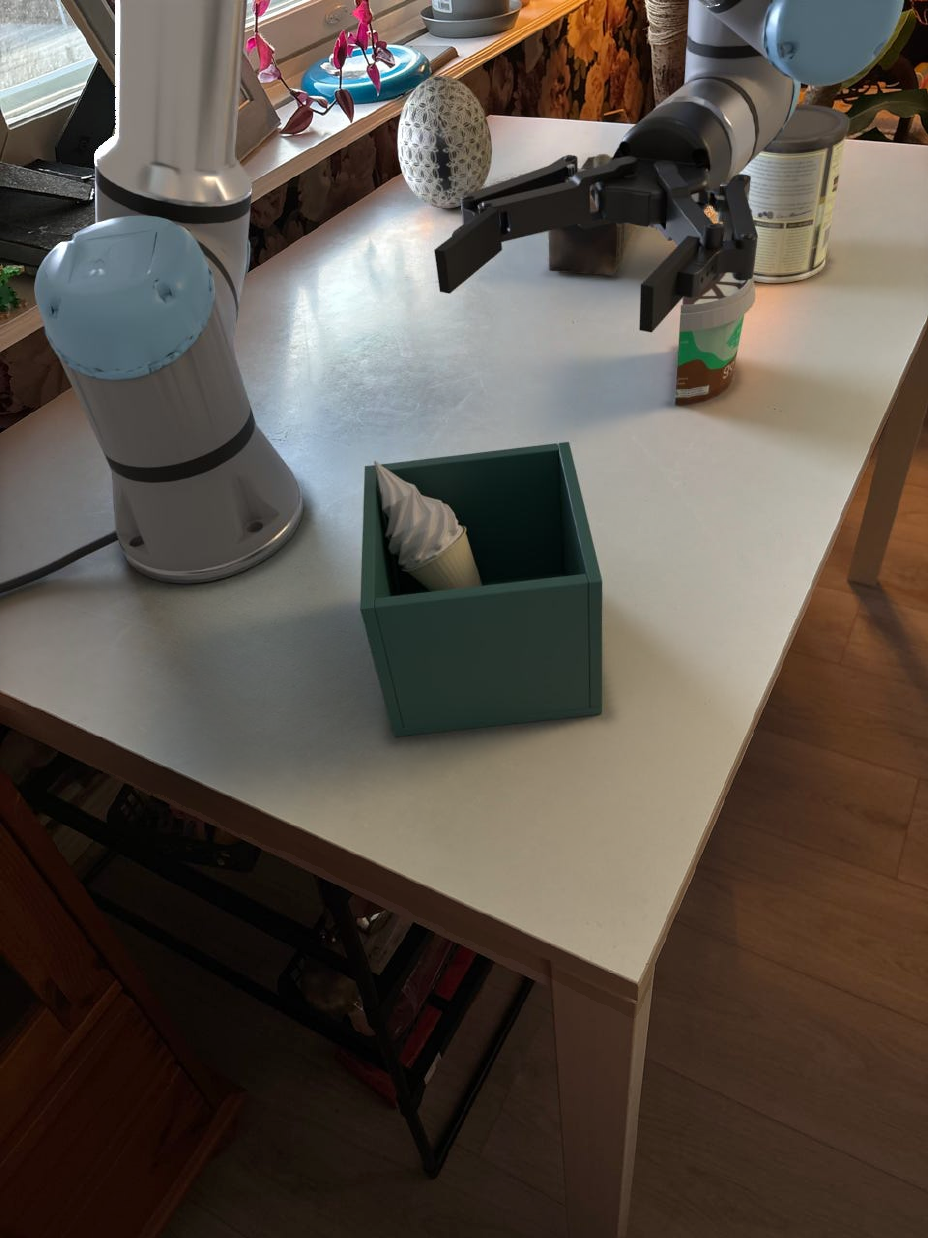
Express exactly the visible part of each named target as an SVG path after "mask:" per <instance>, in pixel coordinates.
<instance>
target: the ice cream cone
mask: <svg viewBox="0 0 928 1238" xmlns="http://www.w3.org/2000/svg"><path fill="white" fill-rule="evenodd" d="M373 465H375V467H376V472H377V477H378V482H379V487H380V492H381V500H382V510H383V511H384V512H385V514H386V515H387V516H388V518H389V523H388V527H387V531H386V534H385V536H386V537H387V538H388V539H389V540H390V543H389V546H388V549H389V551H390V552H391V554H395V555H398V556H399V560H398V563H399V565H402V570H403V571H406V572H408V573H409V574H411V575H412V576H413V577H414V578H415V579H416V580H418V581H419V582H420V583H421V584H422V585H424V586H425V587H426V588H427V589H428V590H430V591H431V592H434V591H442V590H451V589H460V588H468V587H477V586H482V583H481V580H480V576H479V573H478V570H477V567H476V564H475V561H474V558H473V555H472V552H471V548H470V545H469V542H468V539H467V536H466V533H465V532H466V527H465V526H460V525H458V520H457V519H456V518H455V514H454V512H453V511H452V510H451V508H450V507H449V506H448V505H447V504H444V503H442V501H440V500H437V499H433V498H429V497H425V496H423V495H421V494H420V493H419V491H418V490H417V488H416V487H415V485H413V484H410V483H407V482H405V481H403V480H402V479H400V478H399V477H397V476H396V475H394V474H393V473H391V472H390V471H389V470H387V469H386V468H384V467H383V466H381V464H380V463H378V462H377V460H374V461H373Z"/></svg>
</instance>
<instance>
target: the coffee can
mask: <svg viewBox="0 0 928 1238" xmlns="http://www.w3.org/2000/svg"><path fill="white" fill-rule="evenodd" d="M850 125H851V120H850V117H849V116H848V115H847V114H845V113H844V112H843V111H841V110H838V109H835V108H832V107H829V106H824V105H817V104H816V105H815V104H806V103H805V104H801V103H800V104H798V103H797V106H796V108H795V110H794V112H793V114H792V116H791V117H790V119H789V121H788V122H787V123H786V125H785V126H784V129H783V130H782V131H781V133H780V134H779V136H778V138H777V139H776V140H775V141H774V142H773V143H772V144H771V145H770V146H768V147H767V148H766V149H764V150H763V151H761V152H760V153H759V154H758V155H757V156H756V157H755V158H754V159H753V160H752V161H751V162H750V163H749V164H748V165H747V166H746V167H745V168H744V170H742V171H741V172H740V173H739V174H745V175H749V176H751V183H750V193H749V202H748V203H749V206H750V210H751V213H752V217H753V220H754V224H755V227H756V231H757V234H758V239H757V248H756V257H755V265H754V273H753V278H754V282H758V283H764V284H785V283H793V282H798V281H803V280H806V279H808V278H811V277H813V276H815V275H817V274H819V273H820V272H821V271H822V270H823V269H824V267H825V264H826V255H827V250H828V249H827V248H828V244H829V238H830V232H831V227H832V222H833V221H832V220H833V213H834V210H835V209H834V208H835V204H836V203H835V202H836V197H837V191H838V185H839V178H840V174H841V167H842V164H843V163H842V162H843V156H844V149H845V143H846V138H847V133H848V132H849V130H850Z"/></svg>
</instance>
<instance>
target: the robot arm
mask: <svg viewBox="0 0 928 1238" xmlns="http://www.w3.org/2000/svg"><path fill="white" fill-rule="evenodd" d="M904 4H905V0H688V14H687V15H688V18H687V36H686V48H685V49H686V51H685V69H684V83H683V85H682V86H680V87H679V88H678V89H677V90H676V91H674V92H673V93H671V95H669V96H668V97H667V98H666V99H664V100H662V102H660V103H659V104H657V105H656V107H655V108H654V109H653V110H651V111H650V112H649V113H648V114H646V116H644V117H643V118H642V119H641V120H640V121H638V122H637V123H635V125H633V126H632V127H631V128H630V129H629V130H628V131H627V132H626V133H625V134H624V136H623V137H622V139H621V140H620V142H619V144H618V146H617V148H616V150H615V152H614V154H613V156H612V157H613V158H612V160H611V161H609V162H607V163H604V164H601V165H598V166H597V167H595V168H591V169H587V170H585V169H581V168H579V165H578V163H579V160H578V159H579V158H578V156H576V155H573V154H566V155H564V156H561V157H560V158H558V159H557V160H555V161H554V162H552V163H550V164H549V165H546V166H544V167H541V168H538V169H535V170H532V171H529V172H527V173H524V174H520V175H518V176H514V177H513V178H510V179H507V180H504V181H501V182H498V183H495V184H492V185H490V186H486V187H482V188H481V190H478V191H475V192H472V193H469V194H466V195H464V196H462V197H461V205H460V206H461V217H462V225H460V226H459V227H458V228H456V229H455V230H454V231H453V232H452V234H451V236H450V237H449V238H448V239H446V240H445V241H444V242H442V243H441V244H440V245H438V246H437V247H436V248H435V249H433V251H434V258H435V265H436V272H437V273H436V275H437V281H438V288H439V293H443V294H449V295H450V294H452V292H454V291H455V290H456V289H458V288H459V287H460V286H462V284H463V283H464V282H466V281H467V280H468V279H469V278H471V276H473V275H475V274H476V273H477V272H478V271H479V270H480V269H482V268H483V267H484V266H485V265H486V264H488V263H489V262H490V261H491V260H492V259H493V258H495V257H496V256H497V255H498V254H499V253H501V252H502V251H503V244H502V243H504V242H507V241H512V240H516V239H520V238H525V237H529V236H532V235H537V234H540V233H545V232H548V231H549V230H553V229H558V228H562V227H566V226H570V225H574V224H578V225H579V226H580V227H581V228H583V229H588V228H592V227H596V226H600V225H604V224H608V223H612V222H615V223H617V224H623V223H630V224H634V225H637V227H645V228H654V229H655V230H658V231H659V232H660V233H661V235H662V236H663V238H664V239H665V240H666V241H667V242H671V241H672V242H673V243H674V244H675V246H676V247H675V248H674V249H673V250H672V251H671V253H669V254H668V255H667V257H666V258H665V259H663V261H662V262H661V263H660V264H659V265H658V266H657V267H656V268H655V269H654V270H652V272H651V273H650V275H648V276H647V278H646V279H644V280H643V282H642V283H641V284H640V292H639V293H640V296H639V297H640V298H639V329H638V330H639V331H641V332H646V333H653V332H654V331H655V330H656V328H657V327H658V326H659V325H660V324H661V323H662V322H663V320H664V319H665V318H667V317H668V315H669V314H670V313H671V311H672V310H673V309H674V308H675V307H676V306H677V305H678V304H679V303H680V301H681V300H683V297H690V298H693V297H695V296H697V295H699V294H700V293H701V291H702V290H703V289H704V288H705V286H707V284H708V283H709V282H710V281H711V280H716V279H718V278H719V277H720V274H721V273H732V277H733V278H734V279H736V280H740V281H746V280H749V279H751V278H753V273H754V265H755V257H756V248H757V239H758V234H757V231H756V227H755V224H754V220H753V217H752V213H751V210H750V206H749V203H748V202H749V193H750V183H751V176H749V175H745V174H739V173H740V172H741V171H742V170H744V168H745V167H746V166H747V165H748V164H749V163H750V162H751V161H752V160H753V159H754V158H755V157H756V156H757V155H758V154H759V153H760V152H761V151H763V150H764V149H766V148H767V147H768V146H770V145H771V144H772V143H773V142H774V141H775V140H776V139H777V138H778V136H779V134H780V133H781V131H782V130H783V129H784V126H785V125H786V123H787V122H788V121H789V119H790V117H791V116H792V114H793V112H794V110H795V108H796V106H797V104H798V103H799V99H800V94H801V87H802V86H801V84H803V85H806V86H810V87H811V86H812V87H827V86H834V85H837V84H840V83H843V82H845V81H847V80H849V79H851V78H854V77H855V76H856V75H858V74H860V73H861V72H862V71H863V70H864V69H866V68H867V67H868V66H869V65H871V64H872V63H873V61H875V59H876V58H877V57H878V56H879V55H880V54H881V53H882V51H883V49H884V48H885V46H886V45H887V44H888V43H889V41H890V39H891V38H892V36H893V34H894V33H895V31H896V28H897V26H898V23H899V21H900V18H901V15H902V10H903V9H904ZM247 10H248V0H115V54H116V55H115V86H116V87H115V97H116V98H115V110H116V111H115V116H116V117H115V119H116V120H115V123H116V125H115V128H116V129H115V134H114V136H112V137H110V138H109V139H108V140H107V141H105V142H104V143H103V144H102V145H100V146H99V147H98V149H96V151H95V153H94V195H95V196H94V197H95V198H94V199H95V200H94V201H95V223H94V224H92V225H90V226H87V227H84V228H82V229H80V230H78V231H77V232H74V233H73V234H72V237H71V240H68V241H61V242H60V243H58V244H57V245H56V246H54V247H53V248H52V250H51V251H49V253H48V254H47V255H46V256H45V257H44V259H43V260H42V262H41V264H40V266H39V268H38V270H37V272H36V276H35V281H34V288H33V289H34V297H35V303H36V306H37V308H38V309H37V310H38V311H39V314H40V316H41V322H42V325H43V327H44V333H45V337H46V338H47V341H48V342H49V344H50V346H51V348H52V350H54V352H55V354H56V355H57V358H58V359H59V362H60V364H61V366H62V368H63V370H64V372H65V374H66V376H67V379H68V381H69V383H70V385H71V387H72V389H73V392H74V393H75V396H76V398H77V400H78V402H79V404H80V407H81V408H82V410H83V413H84V414H85V417H86V419H87V421H88V424H89V425H90V427H91V429H92V432H93V434H94V436H95V438H96V440H97V442H98V445H99V446H100V448H101V450H102V453H103V455H104V457H105V459H106V461H107V463H108V464H107V465H108V466H109V468H110V471H111V481H112V482H111V485H112V496H113V497H112V499H113V502H112V503H113V515H114V516H113V517H114V528H115V530H113V531H111V532H109V533H107V534H105V535H103V536H101V537H99V538H97V539H94V540H92V541H90V542H88V543H86V544H84V545H82V546H80V547H78V548H76V549H74V550H72V551H70V552H69V553H66V554H64V555H63V556H61V557H59V558H57V559H55V560H53V561H51V562H49V563H47V564H45V565H42V566H40V567H38V568H35V569H33V570H31V571H29V572H26V573H23V574H21V575H18V576H15V577H13V578H10V579H7V580H5V581H1V582H0V594H3V593H7V592H9V591H12V590H15V589H17V588H19V587H23V586H25V585H27V584H31V583H32V582H36V581H38V580H40V579H42V578H44V577H45V578H46V577H47V576H49V575H51V574H53V573H55V572H57V571H59V570H62V569H63V568H65V567H67V566H69V565H71V564H73V563H75V562H76V561H77V562H78V561H79V560H80V559H82V558H85V557H87V556H89V555H91V554H92V553H95V552H97V551H98V550H101V549H103V548H105V547H107V546H109V545H111V544H114V543H116V542H118V543H119V546H120V548H121V550H122V552H123V554H124V556H125V558H126V560H127V561H128V563H129V564H130V565H131V566H132V568H134V569H135V570H136V571H138V573H140V574H142V575H143V576H146V577H147V578H150V579H154V580H157V581H160V582H164V583H172V584H197V583H206V582H212V581H216V580H220V579H223V578H224V579H225V578H227V577H230V576H235V575H237V574H239V573H242V572H244V571H246V570H249V569H251V568H252V567H256V565H258V564H260V563H262V562H264V561H265V560H267V559H268V558H269V557H271V556H272V555H274V554H275V553H276V552H278V551H279V550H280V549H281V548H282V547H283V546H284V545H286V544H287V542H288V541H289V540H290V539H291V538H292V536H293V535H294V533H295V532H296V530H297V529H298V527H299V524H300V522H301V519H302V516H303V512H304V511H303V510H304V503H303V502H304V501H303V498H302V494H301V490H300V487H299V484H298V482H297V479H296V477H295V476H294V474H293V471H292V469H291V468H290V466H289V465H288V464H287V462H286V461H285V460H284V459H283V457H282V456H281V455H280V453H279V452H278V451H277V450H276V448H275V447H274V445H273V444H272V443H271V442H270V440H269V439H268V438H267V436H266V435H265V433H263V431H262V429H260V427H259V426H258V425H257V421H256V419H255V415H254V413H253V409H252V406H251V402H250V399H249V397H248V392H247V389H246V387H245V383H244V380H243V377H242V373H241V371H240V367H239V364H238V361H237V357H236V354H235V353H236V352H235V347H234V346H235V345H234V341H235V339H234V338H235V334H236V328H237V322H238V317H239V309H240V303H241V298H242V293H243V288H244V284H245V283H244V282H245V280H246V278H247V275H248V271H249V267H250V261H251V242H250V240H249V234H250V232H249V229H250V217H251V208H252V207H251V205H252V194H253V181H252V177H251V175H250V174H249V173H248V171H247V170H246V169H245V167H244V166H243V165H242V164H241V162H240V161H239V160H238V159H237V156H236V146H237V135H238V134H237V133H238V122H239V121H238V120H239V110H240V97H241V96H240V95H241V85H242V71H243V61H244V60H243V58H244V46H245V36H246V35H245V34H246V21H247ZM590 190H591V191H590ZM590 193H591V197H592V199H593V201H594V204H595V206H596V208H597V211H595V212H591V213H590ZM709 206H710V207H712V210H713V212H715V213H717V216H716V221H717V222H715V223H714V222H713V221H712V219H711V218H710V217H709V216H708V215H707V213H705V211H706V210H707V209H708V208H709Z"/></svg>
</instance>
